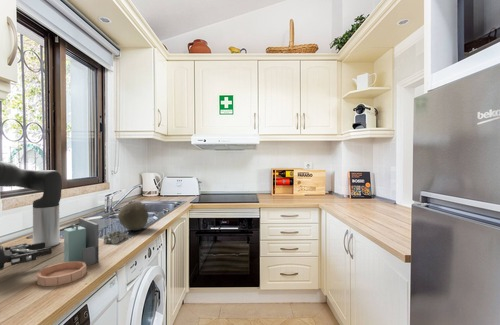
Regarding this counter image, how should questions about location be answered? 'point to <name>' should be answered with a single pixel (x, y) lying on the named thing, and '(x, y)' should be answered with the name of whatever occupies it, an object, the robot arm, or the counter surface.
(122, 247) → the counter surface
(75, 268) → the dish
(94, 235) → the screen
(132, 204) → the cantaloupe
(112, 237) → the miniature stone ruin
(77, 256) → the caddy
